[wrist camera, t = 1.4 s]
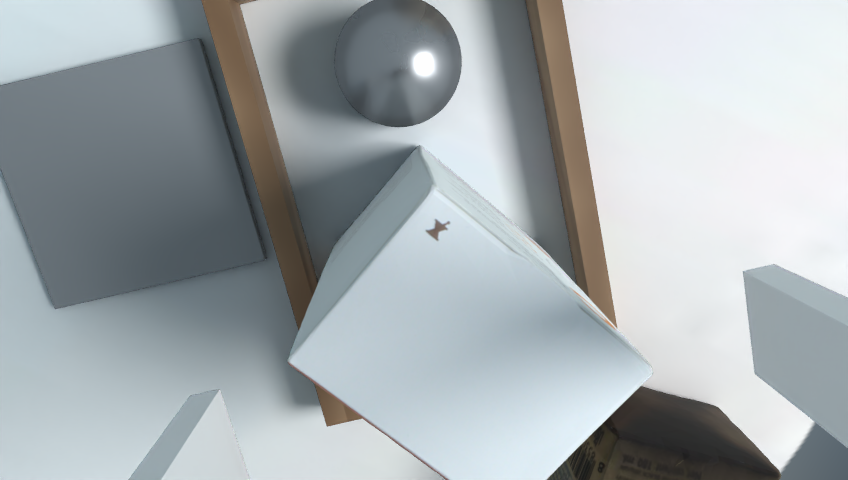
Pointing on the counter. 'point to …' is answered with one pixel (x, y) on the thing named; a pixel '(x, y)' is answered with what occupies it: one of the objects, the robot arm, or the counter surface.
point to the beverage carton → (666, 444)
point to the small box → (461, 334)
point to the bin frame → (278, 195)
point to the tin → (398, 61)
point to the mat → (126, 174)
